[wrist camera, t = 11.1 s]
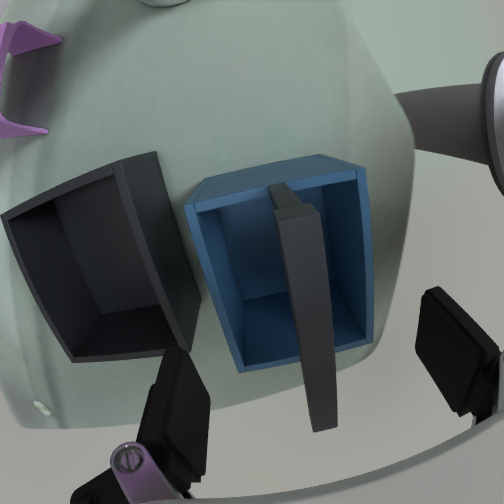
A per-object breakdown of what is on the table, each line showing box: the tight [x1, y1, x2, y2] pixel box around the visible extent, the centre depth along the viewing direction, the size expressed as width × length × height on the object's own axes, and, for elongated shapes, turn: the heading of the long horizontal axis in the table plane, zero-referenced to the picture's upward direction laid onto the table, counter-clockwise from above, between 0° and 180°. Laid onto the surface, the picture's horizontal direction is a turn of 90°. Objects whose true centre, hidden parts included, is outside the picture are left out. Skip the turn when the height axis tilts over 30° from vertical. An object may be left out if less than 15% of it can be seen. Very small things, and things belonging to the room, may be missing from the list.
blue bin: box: [183, 154, 374, 432], centre depth 16 cm, size 8×10×13 cm
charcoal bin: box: [0, 151, 201, 363], centre depth 19 cm, size 10×12×7 cm
